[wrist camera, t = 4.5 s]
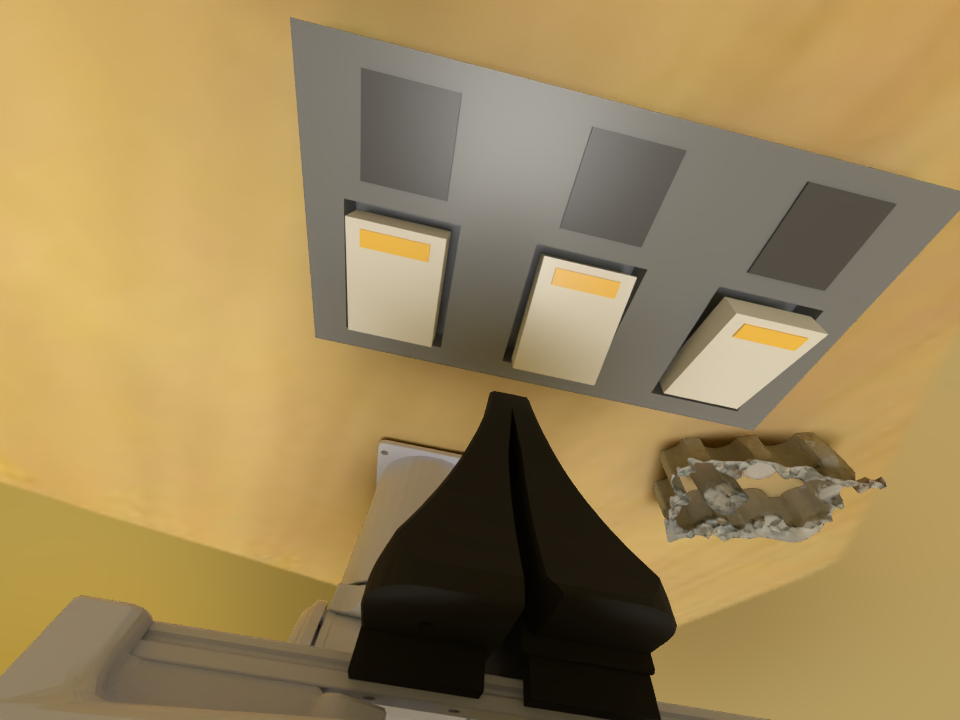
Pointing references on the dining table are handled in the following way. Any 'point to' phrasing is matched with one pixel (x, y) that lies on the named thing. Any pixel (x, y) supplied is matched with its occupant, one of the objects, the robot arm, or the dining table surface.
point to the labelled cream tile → (394, 276)
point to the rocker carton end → (739, 352)
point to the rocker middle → (570, 319)
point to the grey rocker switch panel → (587, 213)
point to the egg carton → (750, 510)
